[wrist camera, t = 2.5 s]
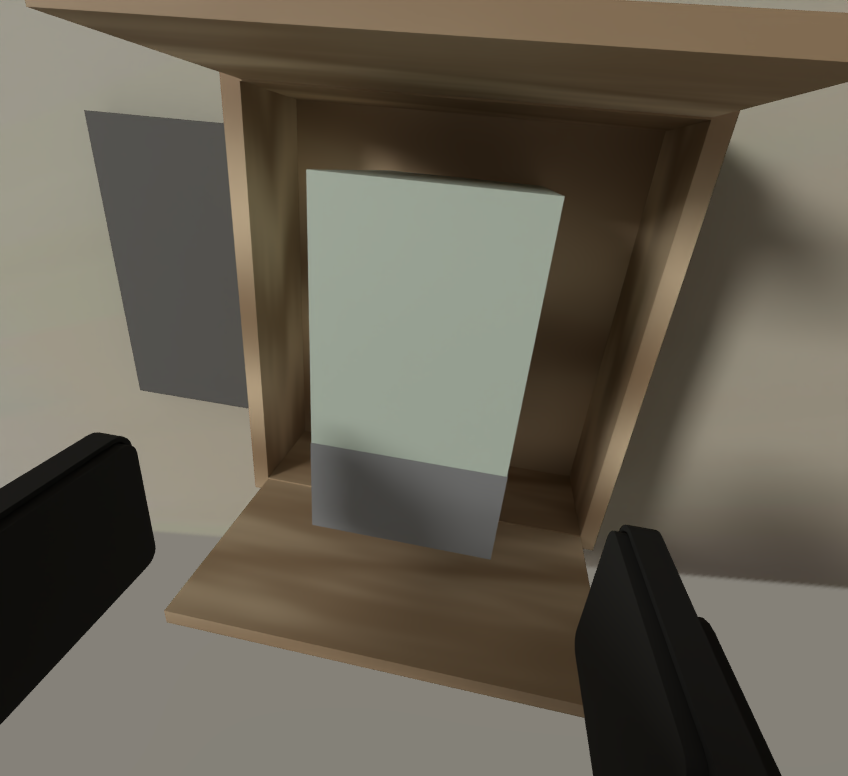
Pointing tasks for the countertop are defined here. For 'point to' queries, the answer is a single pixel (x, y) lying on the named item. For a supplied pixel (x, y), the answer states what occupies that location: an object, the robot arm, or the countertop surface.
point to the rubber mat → (173, 251)
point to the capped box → (421, 348)
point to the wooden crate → (562, 305)
